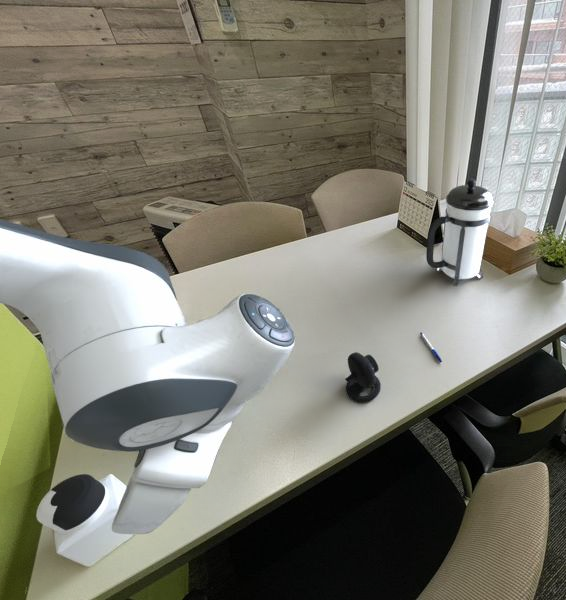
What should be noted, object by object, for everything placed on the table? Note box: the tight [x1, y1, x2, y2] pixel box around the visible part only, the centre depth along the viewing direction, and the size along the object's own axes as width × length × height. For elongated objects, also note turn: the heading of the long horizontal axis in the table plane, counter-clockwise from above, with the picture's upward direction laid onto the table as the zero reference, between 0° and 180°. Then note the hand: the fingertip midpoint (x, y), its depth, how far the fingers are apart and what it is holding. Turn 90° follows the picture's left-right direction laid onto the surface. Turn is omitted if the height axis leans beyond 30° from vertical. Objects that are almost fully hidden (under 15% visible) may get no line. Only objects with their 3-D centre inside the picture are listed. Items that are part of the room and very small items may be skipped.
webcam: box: [345, 351, 382, 404], centre depth 66 cm, size 8×8×10 cm
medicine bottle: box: [35, 473, 136, 568], centre depth 46 cm, size 7×7×12 cm
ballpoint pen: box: [420, 332, 443, 363], centre depth 79 cm, size 10×1×1 cm, turn 25°
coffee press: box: [425, 178, 494, 287], centre depth 94 cm, size 17×16×30 cm
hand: (143, 463), depth 42 cm, fingers open, 8 cm apart
